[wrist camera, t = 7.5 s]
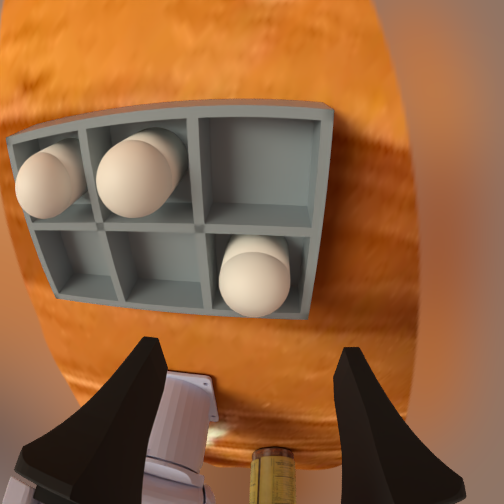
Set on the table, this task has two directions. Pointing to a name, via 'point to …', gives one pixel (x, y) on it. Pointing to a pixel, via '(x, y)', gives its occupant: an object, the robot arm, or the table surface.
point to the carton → (189, 203)
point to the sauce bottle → (273, 477)
